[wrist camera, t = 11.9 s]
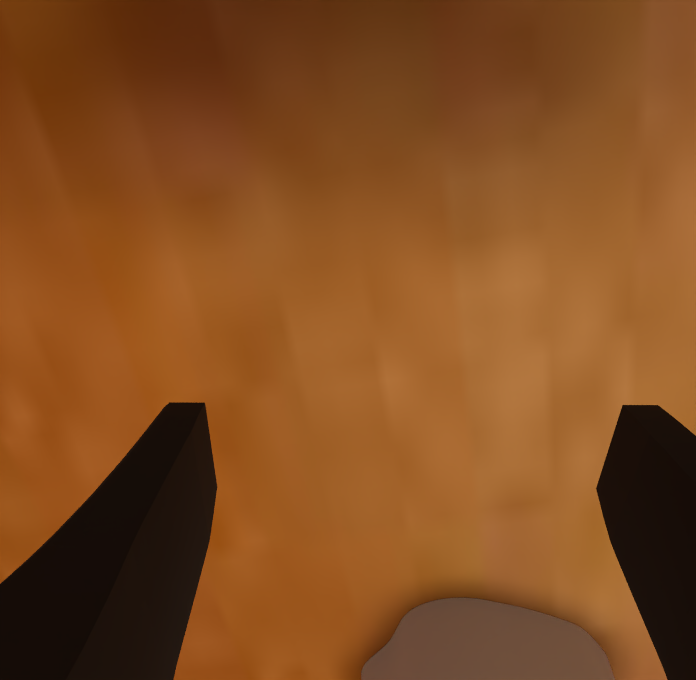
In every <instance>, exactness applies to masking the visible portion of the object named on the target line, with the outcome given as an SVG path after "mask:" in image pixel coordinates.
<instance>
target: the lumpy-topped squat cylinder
mask: <svg viewBox="0 0 696 680" xmlns="http://www.w3.org/2000/svg"><path fill="white" fill-rule="evenodd" d="M361 678H362V680H615V678H614V675H613V672H612V669H611V667H610V664H609V661H608V658H607V656H606V654H605V652H604V651H603V649H602V648H601V647H600V646H599V644H598V643H597V642H596V641H595V640H594V639H593V638H592V637H591V636H590V635H589V634H588V633H587V632H586V631H585V630H584V629H582V628H581V627H579V626H577V625H575V624H573V623H570V622H568V621H565V620H562V619H559V618H556V617H553V616H550V615H547V614H544V613H540V612H537V611H533V610H530V609H526V608H522V607H518V606H513V605H508V604H502V603H498V602H493V601H488V600H483V599H475V598H447V599H440V600H435V601H431V602H427V603H424V604H421V605H419V606H417V607H415V608H413V609H412V610H410V611H409V612H408V613H407V614H406V615H405V616H404V617H403V618H402V620H401V621H400V623H399V625H398V627H397V629H396V631H395V633H394V634H393V636H392V638H391V639H390V641H389V642H388V643H387V644H386V645H385V646H384V647H383V648H382V649H381V650H379V651H378V652H377V653H376V654H375V655H373V656H372V657H371V658H370V659H369V660H368V661H367V662H366V663H365V665H364V666H363V668H362V672H361Z"/></svg>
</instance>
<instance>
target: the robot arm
mask: <svg viewBox="0 0 696 680" xmlns="http://www.w3.org/2000/svg"><path fill="white" fill-rule="evenodd" d="M596 489H597V493H598V497H599V501H600V505H601V509H602V513H603V517H604V520H605V524H606V527H607V531H608V534H609V538H610V541H611V544H612V547H613V549H614V552H615V554H616V557H617V559H618V561H619V564H620V566H621V569H622V571H623V573H624V576H625V578H626V581H627V583H628V586H629V588H630V590H631V593H632V595H633V597H634V600H635V602H636V604H637V607H638V609H639V611H640V614H641V616H642V619H643V621H644V623H645V626H646V628H647V630H648V633H649V635H650V637H651V640H652V642H653V644H654V647H655V649H656V652H657V654H658V656H659V659H660V661H661V663H662V666H663V668H664V671H665V674H666V676H667V679H668V680H696V436H695V435H694V434H693V433H692V432H690V431H689V430H688V429H687V428H686V427H684V426H683V425H682V424H681V423H680V422H678V421H677V420H676V419H675V418H674V417H672V416H671V415H670V414H669V413H667V412H666V411H665V410H663V409H662V408H661V407H660V406H658V405H623V406H622V409H621V412H620V415H619V418H618V421H617V425H616V428H615V431H614V434H613V437H612V440H611V444H610V447H609V450H608V453H607V456H606V459H605V462H604V466H603V469H602V472H601V475H600V478H599V481H598V485H597V488H596ZM216 491H217V483H216V476H215V469H214V462H213V455H212V448H211V441H210V434H209V427H208V421H207V414H206V407H205V403H169V404H167V405H166V406H165V407H164V408H163V409H162V411H161V412H160V413H159V415H158V416H157V417H156V418H155V420H154V421H153V422H152V423H151V425H150V426H149V427H148V429H147V430H146V431H145V432H144V434H143V435H142V436H141V437H140V439H139V440H138V441H137V442H136V444H135V445H134V446H133V447H132V448H131V450H130V451H129V452H128V453H127V455H126V456H125V457H124V458H123V459H122V461H121V462H120V463H119V464H118V465H117V466H116V467H115V469H114V470H113V471H112V472H111V473H110V474H109V476H108V477H107V478H106V479H105V480H104V481H103V482H102V484H101V485H100V486H99V487H98V488H97V489H96V490H95V492H94V493H93V494H92V495H91V496H90V497H89V498H88V499H87V500H86V501H85V502H84V503H83V504H82V506H81V507H80V508H79V509H78V510H77V511H76V512H75V513H74V514H73V515H72V516H71V517H70V518H69V519H68V520H67V521H66V522H65V523H64V524H63V525H62V526H61V527H60V528H59V529H58V531H57V532H56V533H55V534H54V535H53V536H52V537H51V538H50V539H49V540H47V541H46V542H45V543H44V544H43V545H42V546H41V547H40V548H39V549H38V550H37V551H36V552H35V553H34V554H33V555H32V556H31V557H30V558H29V559H28V560H26V561H25V562H24V563H23V564H22V565H21V566H20V567H19V568H18V569H16V570H15V571H14V572H13V573H12V574H11V575H10V576H9V577H8V578H6V579H5V580H4V581H3V582H2V583H1V584H0V680H173V678H174V674H175V670H176V665H177V661H178V657H179V654H180V650H181V646H182V642H183V639H184V635H185V631H186V628H187V624H188V620H189V616H190V613H191V609H192V605H193V601H194V598H195V594H196V590H197V587H198V583H199V579H200V575H201V571H202V568H203V564H204V560H205V556H206V552H207V548H208V544H209V540H210V534H211V527H212V520H213V513H214V506H215V498H216Z"/></svg>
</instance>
